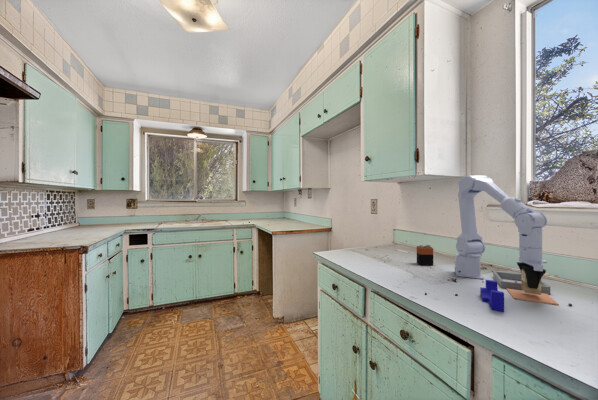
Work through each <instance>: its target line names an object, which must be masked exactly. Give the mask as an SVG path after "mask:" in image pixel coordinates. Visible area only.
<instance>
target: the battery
mask: <svg viewBox="0 0 598 400" xmlns="http://www.w3.org/2000/svg"><path fill="white" fill-rule="evenodd" d="M416 264H418V265H419V266H422V267H423V266H428V267H429V266H430V267H431V266H434V248H433V247H432V246H431V245H430V244H425V245H422V244H420V245H417V246H416Z"/></svg>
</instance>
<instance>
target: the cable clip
mask: <svg viewBox="0 0 598 400" xmlns="http://www.w3.org/2000/svg"><path fill="white" fill-rule="evenodd" d="M479 292H480V298H481V300H482V302H484V303H487V304H489V305H488V306H489V308H490V310H491V311H495V312H500V313H505V293H504V291H500V290H499V288H498V283H497V281H496V280H492V279H485V287H480V290H479Z"/></svg>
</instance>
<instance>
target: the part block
mask: <svg viewBox="0 0 598 400" xmlns="http://www.w3.org/2000/svg"><path fill="white" fill-rule="evenodd" d="M520 274H521V280H520V281H521V282H520V283H521V288H522V290H523V291H524V292H525V293H531V294H538V295H541V280H542V279H541V280H540V283H539V286H538V288H537V289H534V288H529V287H528V284H527V278H526V275H525V272H524V270H523V269H521V271H520Z"/></svg>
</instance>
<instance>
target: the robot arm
mask: <svg viewBox="0 0 598 400" xmlns="http://www.w3.org/2000/svg"><path fill="white" fill-rule="evenodd" d="M458 190H459V191H458V192H457V193H458V195H457V196H458V205H459V206H458V207H459V217H460V224H461V225H460V226H461V234H460V235H458V237H456V244H455V248H456V251H457V253H455V255H454V273H455V275H456V276H457V277H464V278H471V279H480V280H483V279H484V277H483V274H482V273H481V271H482V266H481V263H482V261H481V259H482V255H483V253H485V251H486V244H485V243H484V241H483V237H482V236H481V235H480V234H479V233H478V230H477V220H476V219H477V218H476V209H475V200H474V199H475V197H476V196H477V195H478V194H479V193H481V192H484V193H486V194H488V195H489V196H490V197H491V198H492V199H494V200H496V201H497V202H498V203H500V208H501V209H502V210H503V211H504V212H505V213H506V214H508V215H509V216H510V217H511V218H512V219H514V224H515V226H516V228H517V230H518V233H519V235H518V237H519V238H518V241H519V242H518V243H519V245H518V246H519V247H518V251H519V252H518V254H519V255H518V262H516V265H517V266H518V268H519V270H520V272H521V269H523V270H524V272H525V275H526V278H527V284H528V287H529V288H534V289H537V288H538V286H539V283H540V280H542V278H543V276H544V275H545V274H546V272H547V270H546V269H545V268H543V267H544V265H543V264H548V260H545V259H543V228H545V226H546V225H547V223H548V220H547V217H546V215H544V214H543V213H542V212H541V211H535V210H534V209H533V208H532V207H529V206H527V205H526V204H525V203H524V202H522V199H521V198H519V197H514V196H511V197H510V196H509V195H507V193H506V192H505V191H503V190H502V189H501V188H500V187H499V186H498V185H497V184H496V183H495V182H494V180H493V178H491V177H489V176H488V175H486V174H481V175H473V174H472V175H470V174H466V175H465V174H464V176H462V177H461V178H460V179H459V181H458Z"/></svg>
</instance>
